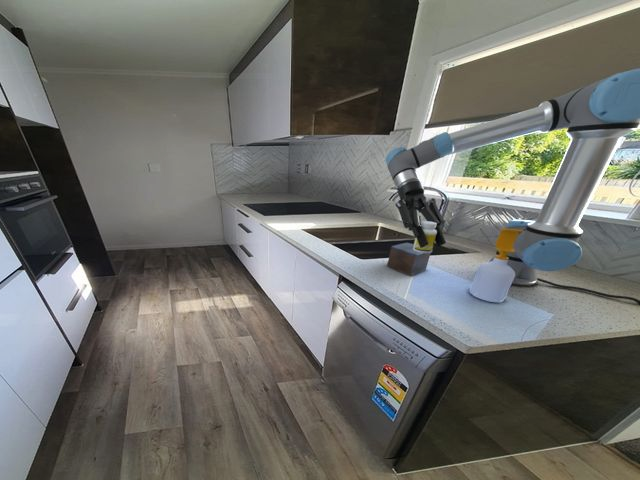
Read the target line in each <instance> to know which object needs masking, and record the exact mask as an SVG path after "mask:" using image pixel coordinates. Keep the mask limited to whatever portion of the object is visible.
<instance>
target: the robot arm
mask: <svg viewBox="0 0 640 480" xmlns="http://www.w3.org/2000/svg"><path fill="white" fill-rule="evenodd" d="M639 126H640V68H634V69H630V70H627V71H621V72H618V73H615V74H613V75H611V76H608V77H605V78H603V79H599V80H597V81H593V82H591V83H587V84H586V85H583V86H582V87H579V88H577V89H575V90H572V91H570V92H567V93H565V94H563V95H560V96H557V97H555V98H551V99H548V100H545V101H542V102H541V103H540V104H539V105H538V106H536V107H532V108H530V109H525V110H523V111H520V112H516V113H513V114H509V115H505V116H503V117H500V118H496V119H494V120H489V121H485V122H483V123H480V124H477V125H474V126H470V127H466V128H463V129H460V130H456V131H453V132H450V133H449V132H447V131H444V132H442V133H439V134H436V135H434V136H432V137H430V138H429V139H426V140H423V141H421V142H420V143H418V144H417V145H415V146H414V147H411V148H409V149H407V148H406V147H404V146H399V147H396V148H392V149H391V150H390V151H389V152H388V153H387V154H386V157H385V163H386V167H387V169H388V172H389V174H390V176H391V179H392V181H393V184H394V186H395V190H396V191H397V195H398V197H399V200H398V201H397V202H396V203H395V207H396V208H397V209H398V212H399V215H400V218H401V221H402V224H403V226H404V228H405V229H408V231H409V232H412V234H413V236H414V239H415V238H417V240H418V243H419V245H420V248H423V247H424V246H426V245H428V241H427V239H426V236H425V234H424V231H423V229H422V226H421V225H419V218H418V213H420V214H421V215H422V216H423V218H424V219H425V221H430V222H435V223H437V225H436V228H435V230H436V231H437V234H436V238H435V241H434V243H435V244H436V247H441V246H443V245H445V244H447V241H446V239H445V237H444V232H443V229H442V227H441V226H442V225H443V224H445V219H444V218H443V215H442V213H441V212H440V210H439V207H438V206H437V205H438V204H437V201H436V198H435V197H432V198H431V199H430V198H428V197H427V196H426V195H425V187H424V186H423V184H422V181H421V178H420V176H419V174H418V172H417V170H416V169H420V168H421V167H423V166H426V165H428V164H431V163H433V162H435V161H437V160H440V159H443V158H445V157H446V156H450V155H454V154H457V153H461V152H465V151H469V150H473V149H476V148H480V147H484V146H488V145H491V144H496V143H500V142H503V141H507V140H511V139H515V138H518V137H523V136H526V135H531V134H534V133H537V132H539V133H541V134H547V133H550V132H554V131H559V130H565V129H566V130H567V131H566V132H565V134H566V136H568V137H569V138H570V142H569V144H568V147H567V149H566V151H565V154H564V156H563V158H562V160H561V163H560V165H559V168H558V170H557V172H556V174H555V176H554V178H553V181H552V183H551V186H550V188H549V191H548V193H547V195H546V198H545V200H544V202H543V204H542V207H541V209H540V211H539V213H538V215H537V218H536V220H530V219H529V220H528V219H511V220H509V221H508V222H507V225H506V226H505V228H508V229H518V230H524V232H519V233H518V235H517V237H516V240H515V242H514V244H513V249H514V250H515V251H516V252H515V253H512V252H510V254H507V255H506V257H508V258H509V259H508V262H507V265H508V266H509V267H511V268H512V269H513V270H514V272H515V277H514V279H513V281H512V284H511V285H514V286H515V285H516V286H523V287H524V286H525V287H529V286H534V285H535V284H536V283H537V282H541V283H545V284H547V285H551V286H553V287H557V288H561V289H570V290H571V289H572V290H577V291H583V292H586V293H591V294H595V295H599V296H603V297H607V298H612V299H622V300H630V301H632V302H635V303H637V304H638V305H640V299H639V298H636V297H634V296H633V297H632V296H627V295H618V294H609V293H604V292H602V291H601V292H600V291H597V290H594V289H588V288H586V287H585V288H584V287H581V286H574V285H565V284H559V283H555V282H552V281H549V280H546V279H543V278H539V277H538V271H541V272H557V271H561V270H564V269H568V268H570V267H572V266H574V265H575V264H576V263H578V262H579V260H580V259H581V258H582V256H583V249H582V247H581V245H580V244H579V241H580V239H581V237H582V235H583V233H584V230H583V229H582V228H581V227H580V226H579V224H580V222H581V220H582V219H583V216H584V214H585V212H586V210H587V209H588V206H589V205H590V202H591V200H592V198H593V197H594V194H595V192H596V190H597V188H598V187H599V185H600V183H601V180H602V178H603V176H604V175H605V172H606V171H607V168H608V166H609V164H610V163H611V160H612V159H613V157H614V155H615V152H616V151H617V149H618V146H619V145H620V143H621V141H622V139H623V138H624V137H626V136H627V135H630V134H631V133H633V132H635V131H637V129H638V128H639ZM505 228H504V229H505ZM499 254H500V252H498V250H497V249H496V252H495V254H494V255H493V257H491V258H490V260H489V261H488V262H492V261H493V260H494V257H495V255H499Z"/></svg>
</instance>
